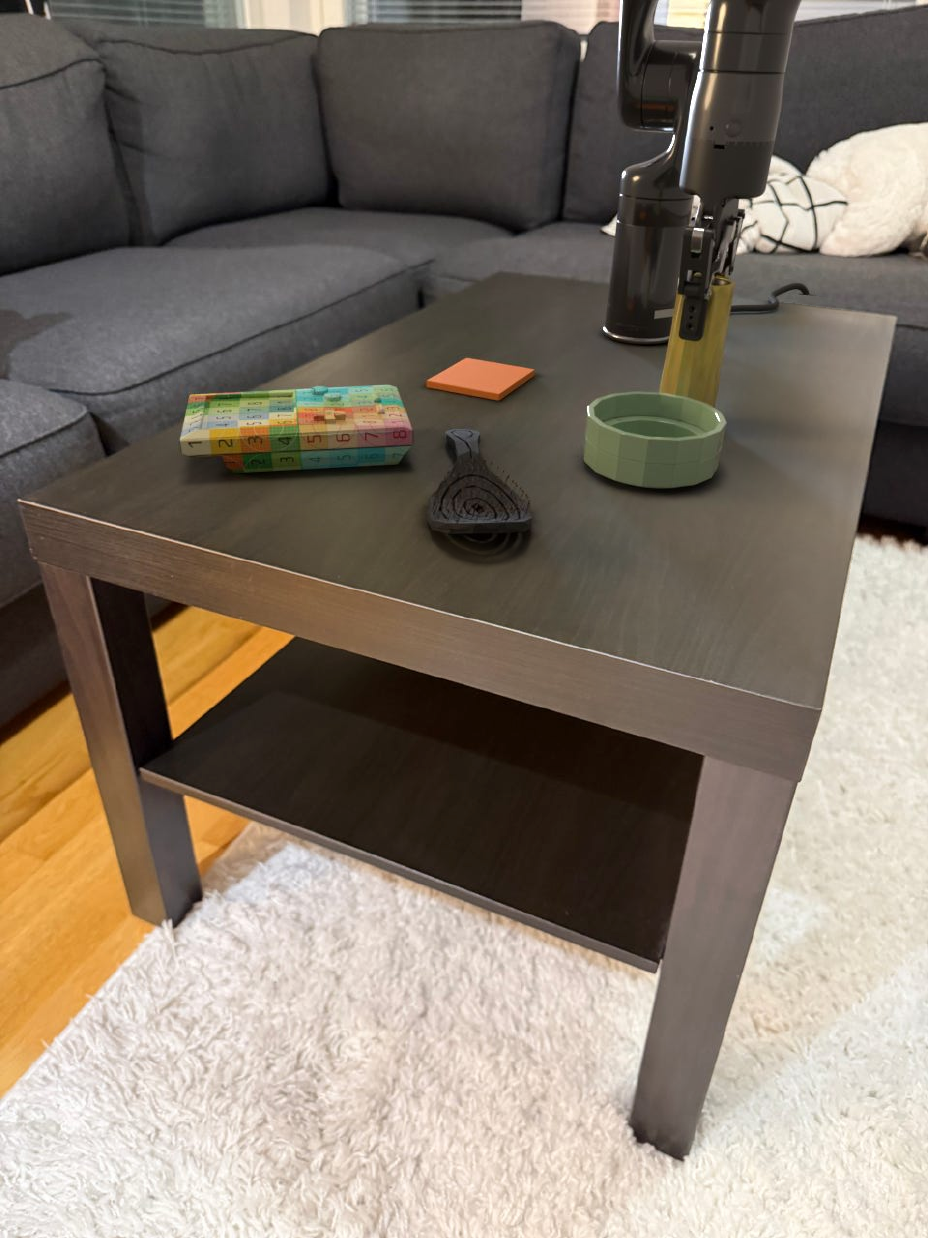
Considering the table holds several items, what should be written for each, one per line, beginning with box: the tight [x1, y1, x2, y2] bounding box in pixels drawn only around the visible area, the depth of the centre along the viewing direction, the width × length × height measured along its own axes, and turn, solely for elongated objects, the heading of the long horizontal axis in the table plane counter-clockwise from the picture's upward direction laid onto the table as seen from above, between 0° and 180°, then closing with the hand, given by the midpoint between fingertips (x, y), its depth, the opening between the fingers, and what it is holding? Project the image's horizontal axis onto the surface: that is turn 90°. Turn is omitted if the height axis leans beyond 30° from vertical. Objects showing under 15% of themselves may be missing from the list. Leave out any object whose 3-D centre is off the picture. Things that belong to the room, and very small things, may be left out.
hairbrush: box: [426, 428, 533, 534], centre depth 75 cm, size 8×4×25 cm
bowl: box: [582, 390, 727, 489], centre depth 79 cm, size 12×12×5 cm
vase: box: [658, 273, 736, 409], centre depth 86 cm, size 6×6×14 cm
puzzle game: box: [178, 384, 414, 474], centre depth 81 cm, size 12×5×20 cm
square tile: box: [426, 357, 536, 402], centre depth 100 cm, size 10×9×1 cm
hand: (697, 331), depth 85 cm, fingers closed on vase, 5 cm apart
